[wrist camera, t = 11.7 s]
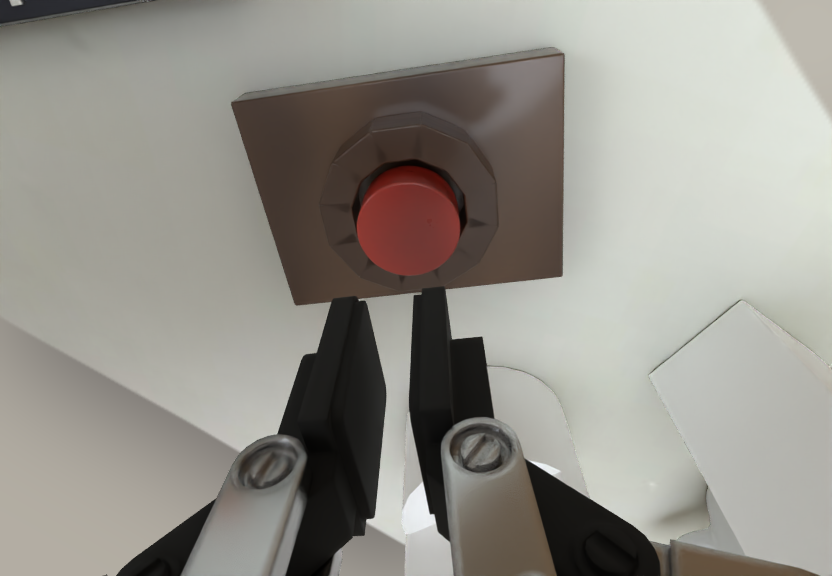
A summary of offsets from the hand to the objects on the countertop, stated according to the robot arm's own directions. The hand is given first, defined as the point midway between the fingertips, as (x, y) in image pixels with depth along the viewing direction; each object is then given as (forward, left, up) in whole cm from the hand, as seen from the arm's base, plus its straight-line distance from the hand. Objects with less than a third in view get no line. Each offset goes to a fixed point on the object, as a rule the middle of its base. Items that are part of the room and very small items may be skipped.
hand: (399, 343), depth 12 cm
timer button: (0, 0, -8) cm, 8 cm away
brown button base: (0, 0, -11) cm, 11 cm away
